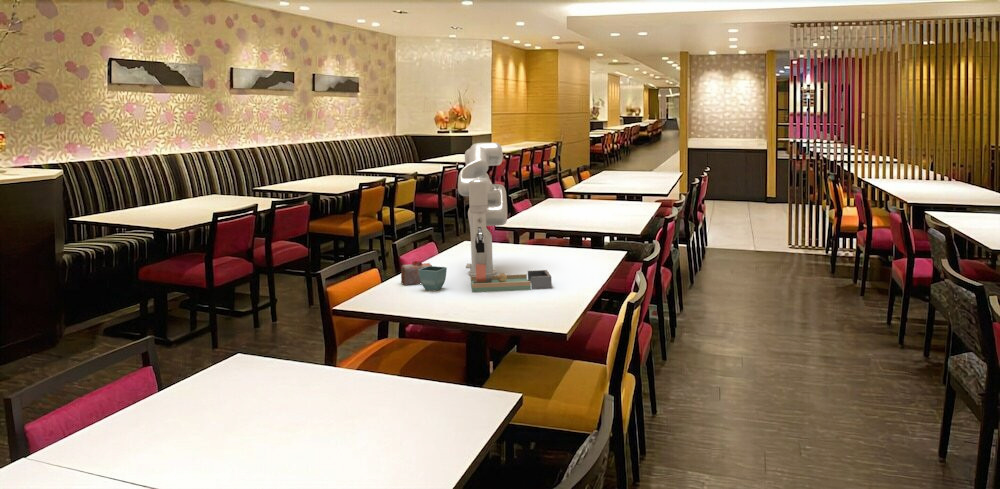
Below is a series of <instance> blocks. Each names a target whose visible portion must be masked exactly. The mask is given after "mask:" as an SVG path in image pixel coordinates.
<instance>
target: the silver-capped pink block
mask: <svg viewBox="0 0 1000 489" xmlns="http://www.w3.org/2000/svg"><path fill="white" fill-rule="evenodd" d="M475 266H476V280H475V281H474V284H476V283H492V277H491V275H486V265H485V264H475Z"/></svg>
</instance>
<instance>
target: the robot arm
mask: <svg viewBox="0 0 1000 489" xmlns="http://www.w3.org/2000/svg"><path fill="white" fill-rule="evenodd" d="M503 152H504V151H503V147H502V145H501V144H500V143H499V142H495V141H494V142H477V143H473V144H472V145H471V146H470V148H468V149H467V150H465V153H464V162H465V166H464V167H462V169H461V170H460V172H459V174H458V177H457V178H458V179H457V190H458V193H459V195H460V196H462V197H468V201H469V202H468V204H469V208H468V211H467V217H468V224H469V232H470V252H471V254H470V256H471V263H467V264H466V265H465V268H466V269H469V271H468V275H469V276H470V277H471V276H476V266H475V264H485V265H486V275H491V276H495V275H496V274H497V270H495V269H494V266H493V265H494V264H493V262H494V260H493V237H492V234H491V232H490V230H489V229H488V228H487V227H493V226H494V227H496V226H504V225H505V224H506V223H507V221H508V204H507V203H508V200H507V191H506V187H505V186H504V185H503V184H497V183H493V182H492V181H491V179H490V176H489V174H488V173H487V172H488V170H489V167H491V166H492V167H493V166H500V165H501V164H502V162H503V160H504V155H503V154H504V153H503Z"/></svg>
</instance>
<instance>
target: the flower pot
mask: <svg viewBox="0 0 1000 489" xmlns="http://www.w3.org/2000/svg"><path fill="white" fill-rule="evenodd" d="M447 269H448V267H446V266H436V265H435V266H434V265H432V266H428V267H425V268H422V269H419V274H420V280H421V283H422V284H421V285H422V287H423V289H425V290H426V291H433V292H434V291H435V292H436V291H438V290H440V289H442V288H443V286H444V284H445V282H446V277H447Z"/></svg>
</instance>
